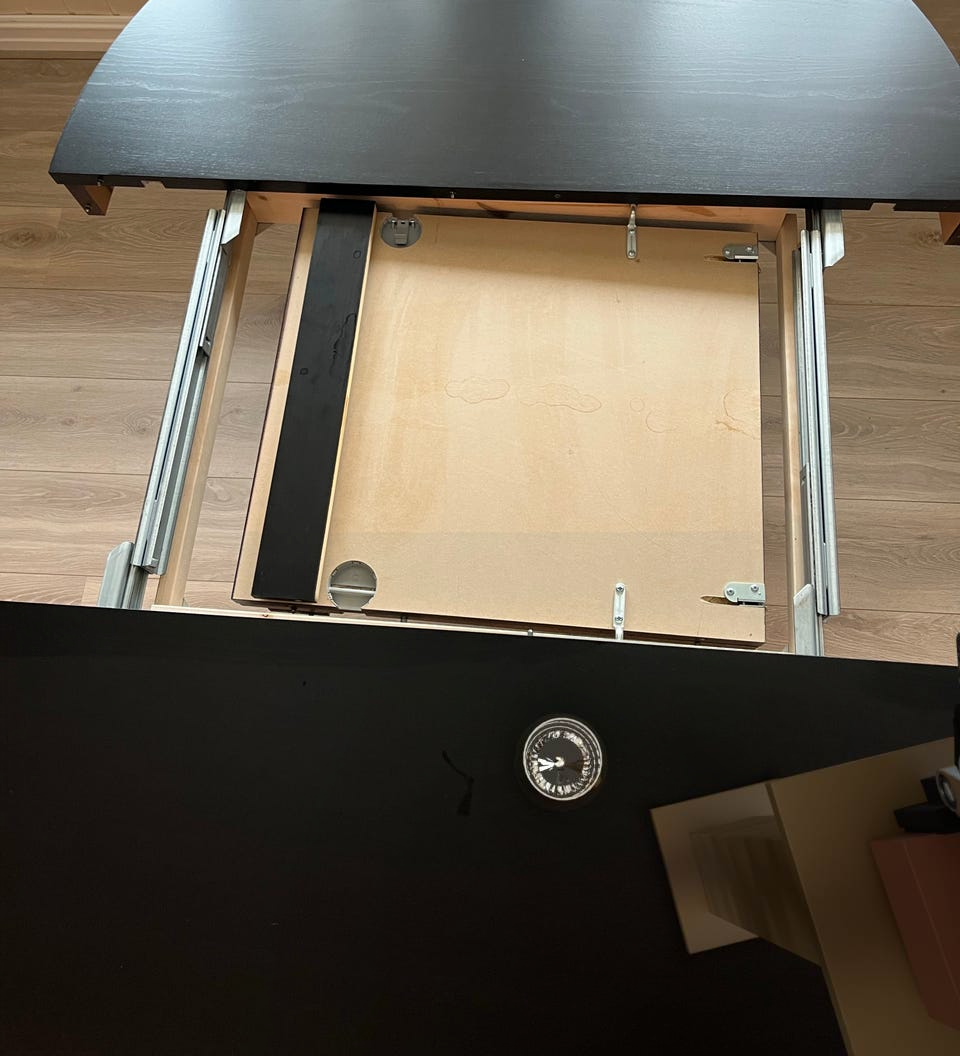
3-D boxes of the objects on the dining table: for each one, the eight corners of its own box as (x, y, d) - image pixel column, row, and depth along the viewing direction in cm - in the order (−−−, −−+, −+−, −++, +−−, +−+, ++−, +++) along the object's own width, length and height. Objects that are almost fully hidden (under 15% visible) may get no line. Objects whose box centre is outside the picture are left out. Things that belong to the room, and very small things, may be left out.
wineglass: (502, 743, 74) (499, 729, 63) (578, 712, 75) (588, 693, 64) (533, 825, 72) (535, 826, 61) (610, 793, 73) (627, 788, 62)
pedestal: (829, 925, 69) (1203, 1051, 31) (681, 962, 69) (879, 1136, 31) (780, 769, 73) (1062, 710, 35) (639, 803, 73) (769, 781, 34)
